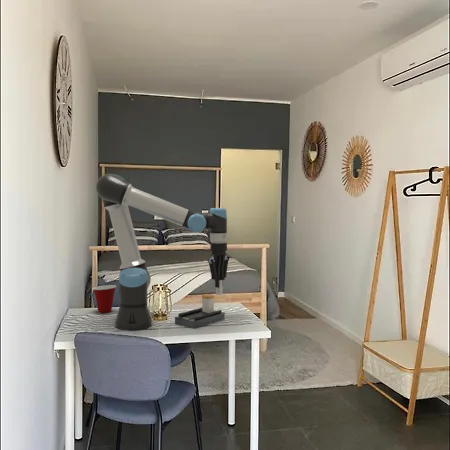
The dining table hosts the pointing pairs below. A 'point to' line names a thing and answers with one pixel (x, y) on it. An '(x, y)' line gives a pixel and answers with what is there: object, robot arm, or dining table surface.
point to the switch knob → (207, 303)
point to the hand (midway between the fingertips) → (219, 294)
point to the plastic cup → (104, 297)
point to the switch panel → (198, 318)
